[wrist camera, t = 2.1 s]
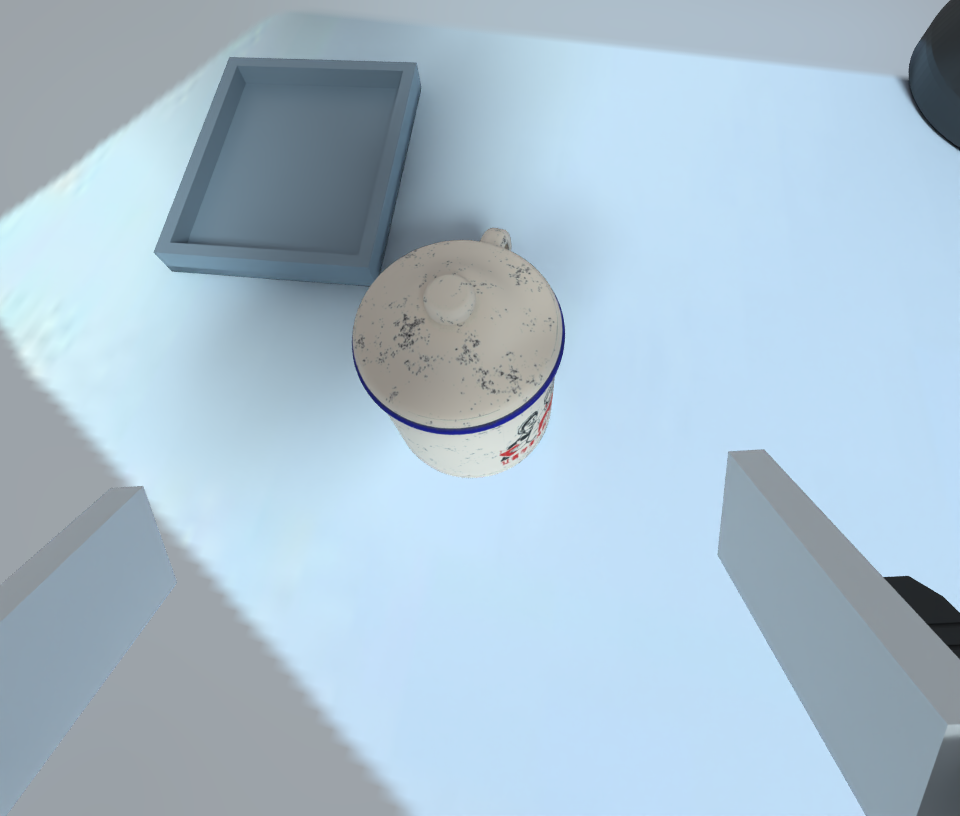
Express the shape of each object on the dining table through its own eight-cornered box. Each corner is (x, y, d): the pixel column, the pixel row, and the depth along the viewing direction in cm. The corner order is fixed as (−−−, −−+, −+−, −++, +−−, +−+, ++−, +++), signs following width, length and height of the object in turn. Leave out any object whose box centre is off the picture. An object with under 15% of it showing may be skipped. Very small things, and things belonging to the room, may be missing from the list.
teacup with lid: (535, 501, 30) (541, 429, 20) (372, 463, 32) (294, 376, 21) (579, 306, 34) (604, 156, 24) (432, 279, 36) (392, 126, 25)
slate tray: (421, 87, 42) (416, 62, 40) (376, 286, 36) (368, 267, 34) (242, 82, 43) (229, 57, 41) (172, 271, 38) (153, 252, 36)
